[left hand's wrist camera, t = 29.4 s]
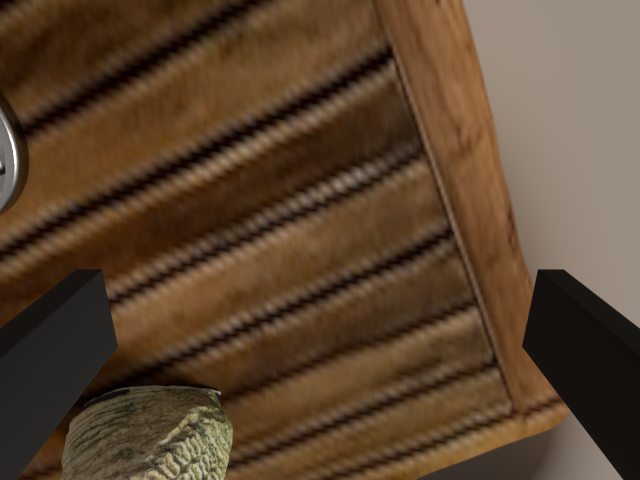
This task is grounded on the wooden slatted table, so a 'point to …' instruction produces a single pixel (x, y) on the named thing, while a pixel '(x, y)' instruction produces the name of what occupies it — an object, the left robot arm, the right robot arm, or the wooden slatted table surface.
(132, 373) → the wooden slatted table surface
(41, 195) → the wooden slatted table surface
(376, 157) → the wooden slatted table surface
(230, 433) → the fossil
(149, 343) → the wooden slatted table surface
